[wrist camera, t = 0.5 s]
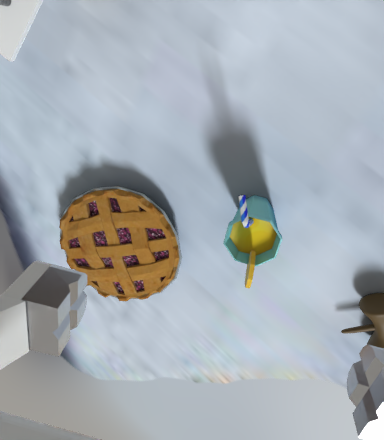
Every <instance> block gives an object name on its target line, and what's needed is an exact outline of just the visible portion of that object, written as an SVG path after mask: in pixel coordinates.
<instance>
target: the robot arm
mask: <svg viewBox="0 0 384 440" xmlns="http://www.w3.org/2000/svg"><path fill="white" fill-rule="evenodd" d="M86 285H87V275H86V274H85V273H83V272H79V271H75V270H72V269H68V268H65V267H61V266H57V265H52V264H49V263H45V262H42V261H35V262H33V263H32V264H31V265H30V266H29V267H28V268H27V269H26V270H25V271H24V272H23V273H22V274H21V275H20V276H19V277H18V278H17V279H16V280H15V281H14V283H12V285H11V286H10V287H9V288H8V289H7V290H6V291H5V292H4V293H3V294H2V295H0V369H2V368H4V367H5V366H7V365H8V364H10V363H12V362H13V361H15V360H16V359H18V358H19V357H21V356H23V355H24V354H26V353H27V352H29V350H33V351H37V352H41V353H45V354H49V355H54V356H59V355H60V354H61V352H62V350H63V349H64V347H65V345H66V344H67V342H68V341H69V339H70V330H72V329H74V328H75V327H77V326H78V324H79V322H80V321H81V319H82V316H83V314H84V311H85V307H86V302H87V295H86V294H85V292H84V291H83V290H84V289H85V287H86ZM359 354H360V357H361V361H359V362H357V363H354V364H353V365H352V367H351V369H350V371H349V373H348V379H347V391H348V395H349V399H350V400H351V401H352V402H353V404H354V405H355V406H356V409H355V411H354V412H353V417H354V421H355V425H356V429H357V433H358V437H359V438H363V439H366V440H384V348H380V347H376V346H372V345H368V344H367V345H366V346H365V347H363V349H362V350H361V352H360V353H359ZM0 440H101V439H98V438H94V437H90V436H87V435H84V434H80V433H77V432H73V431H69V430H66V429H62V428H59V427H55V426H52V425H48V424H45V423H41V422H37V421H34V420H30V419H27V418H23V417H20V416H16V415H12V414H9V413H5V412H2V411H0Z"/></svg>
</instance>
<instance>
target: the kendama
mask: <svg viewBox="0 0 384 440" xmlns="http://www.w3.org/2000/svg"><path fill="white" fill-rule="evenodd" d="M359 306H360V309H361V310H362V312H363V313H364V314H365V315H366V316H367V317H368V318H369V319H370V320H371V321H372V323H373V324H369V325H363V326H358V327H353V328H348V329H344V330H342V331H341V332H342V333H357V332H365V331H374V333H373V334H372V335H371V337H370V339H369V341H368V343H367V344H368V345H372V346H376V347H380V348H384V293H373V294H370V295H366V296H365V297H363V298H361V300H360V302H359Z"/></svg>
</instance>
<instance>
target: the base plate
mask: <svg viewBox="0 0 384 440" xmlns="http://www.w3.org/2000/svg"><path fill="white" fill-rule="evenodd" d="M42 2H43V0H11V5H10V6H2V5H0V54H1V55H3V56H4V57H5V58H6V59H7V60H8V61H10V62H14V60H15V58H16V56H17V54H18V52H19V50H20V48H21V46H22V44H23V42H24V40H25V38H26V35H27V33H28V31H29V29H30V27H31V25H32V23H33V21H34V19H35V17H36V15H37V13H38V11H39V8H40V6H41V4H42Z"/></svg>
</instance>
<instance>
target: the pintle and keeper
mask: <svg viewBox="0 0 384 440" xmlns="http://www.w3.org/2000/svg"><path fill="white" fill-rule="evenodd" d="M0 5H2V6H10V5H11V0H0Z"/></svg>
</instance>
